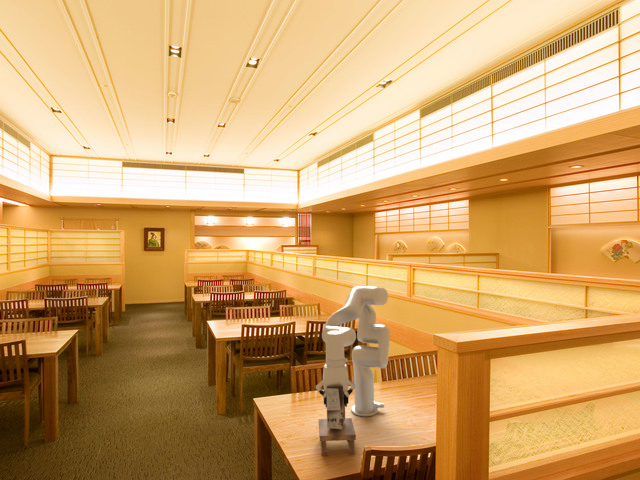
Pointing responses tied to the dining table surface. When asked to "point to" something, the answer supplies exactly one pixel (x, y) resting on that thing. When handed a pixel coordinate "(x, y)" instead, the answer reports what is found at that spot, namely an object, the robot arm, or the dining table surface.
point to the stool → (337, 434)
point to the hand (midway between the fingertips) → (336, 405)
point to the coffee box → (335, 407)
